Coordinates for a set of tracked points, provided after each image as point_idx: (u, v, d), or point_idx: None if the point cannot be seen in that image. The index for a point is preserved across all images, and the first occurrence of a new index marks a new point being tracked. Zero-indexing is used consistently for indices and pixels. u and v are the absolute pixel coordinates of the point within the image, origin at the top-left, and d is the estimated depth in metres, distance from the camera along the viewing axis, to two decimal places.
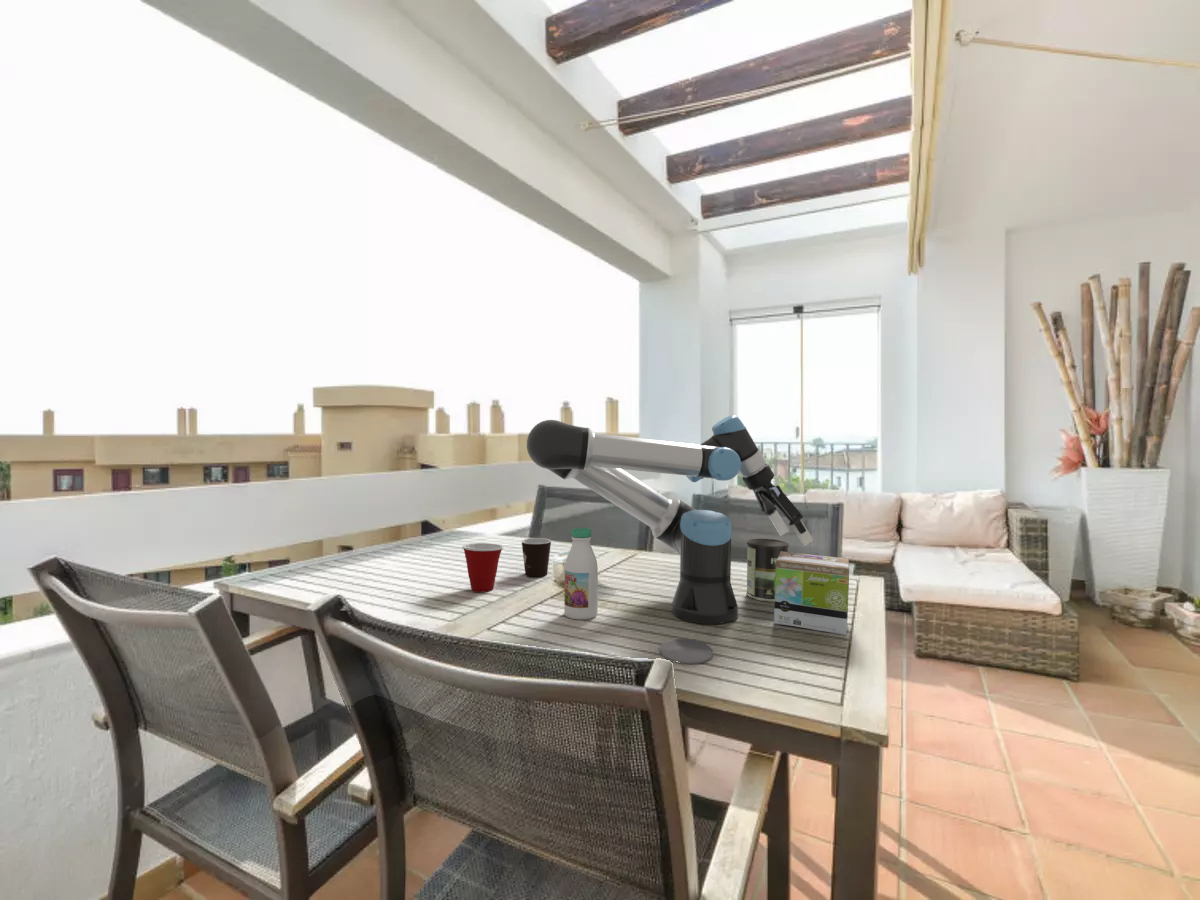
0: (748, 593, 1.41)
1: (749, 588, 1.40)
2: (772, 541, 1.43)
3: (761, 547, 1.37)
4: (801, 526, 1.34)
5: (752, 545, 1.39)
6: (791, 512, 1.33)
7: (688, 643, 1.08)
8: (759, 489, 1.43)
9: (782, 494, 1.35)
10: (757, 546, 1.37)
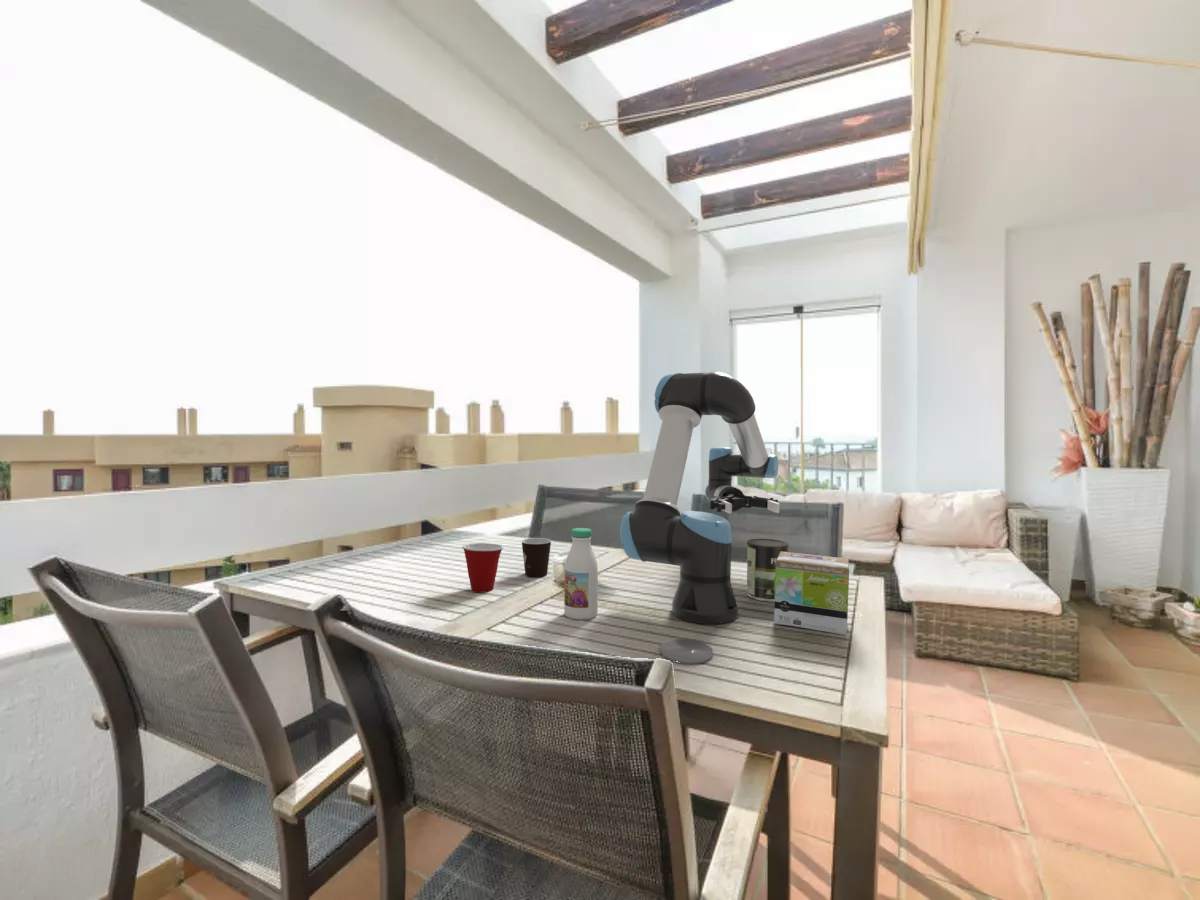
0: (748, 593, 1.41)
1: (749, 588, 1.40)
2: (772, 541, 1.43)
3: (761, 547, 1.37)
4: None
5: (752, 545, 1.39)
6: None
7: (688, 643, 1.08)
8: None
9: None
10: (757, 546, 1.37)
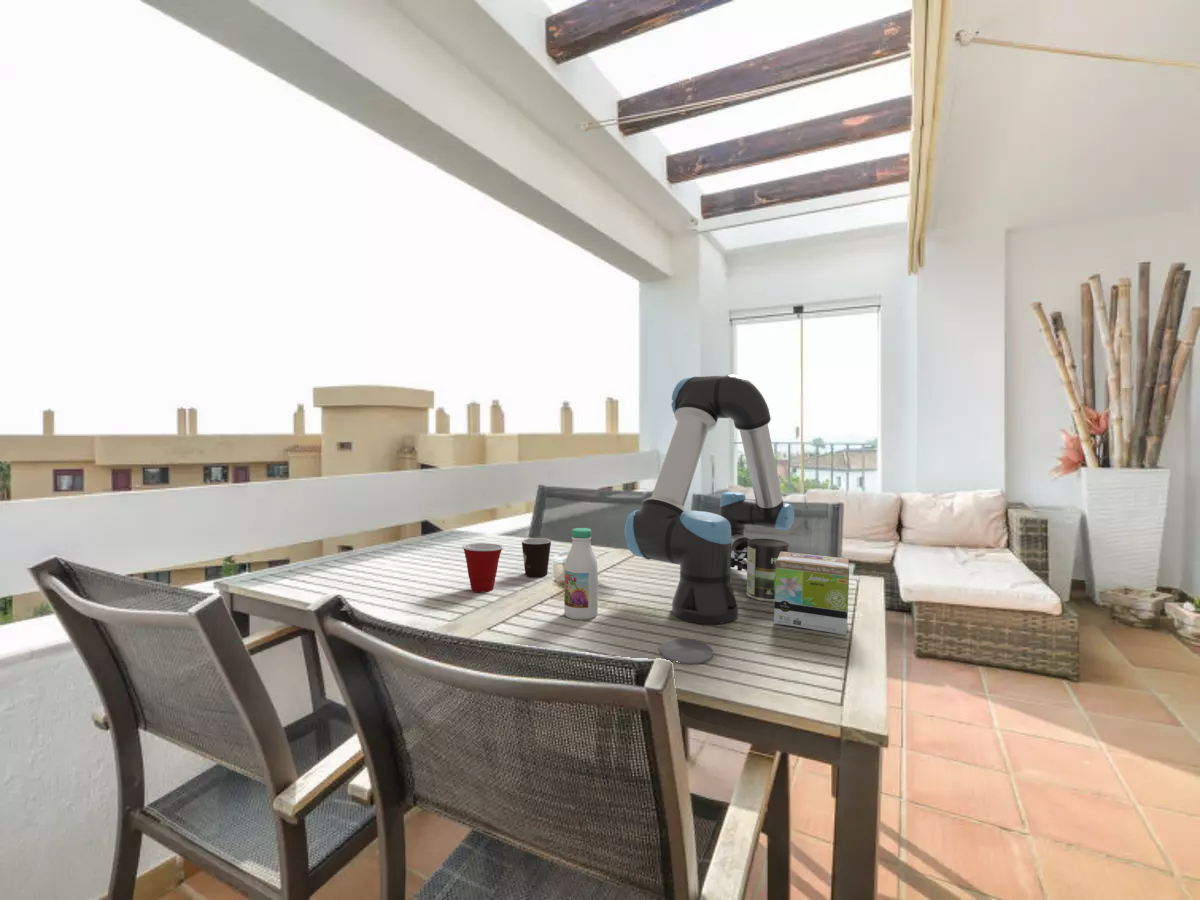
0: (748, 593, 1.41)
1: (749, 588, 1.40)
2: (772, 541, 1.43)
3: (761, 547, 1.37)
4: None
5: (752, 545, 1.39)
6: None
7: (688, 643, 1.08)
8: (744, 550, 1.54)
9: None
10: (757, 546, 1.37)
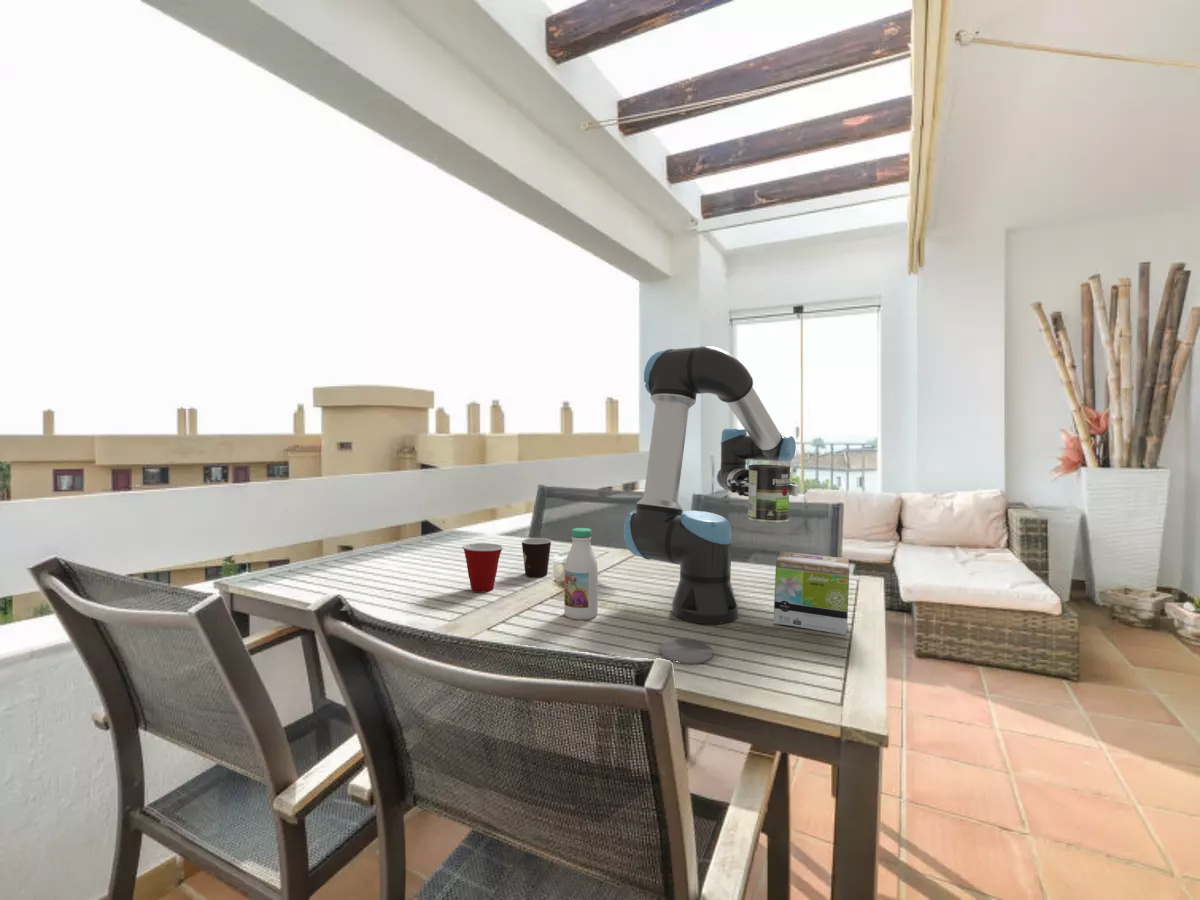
0: (749, 517, 1.40)
1: (750, 511, 1.39)
2: None
3: (763, 468, 1.36)
4: None
5: (754, 467, 1.38)
6: None
7: (688, 643, 1.08)
8: None
9: None
10: (759, 467, 1.37)
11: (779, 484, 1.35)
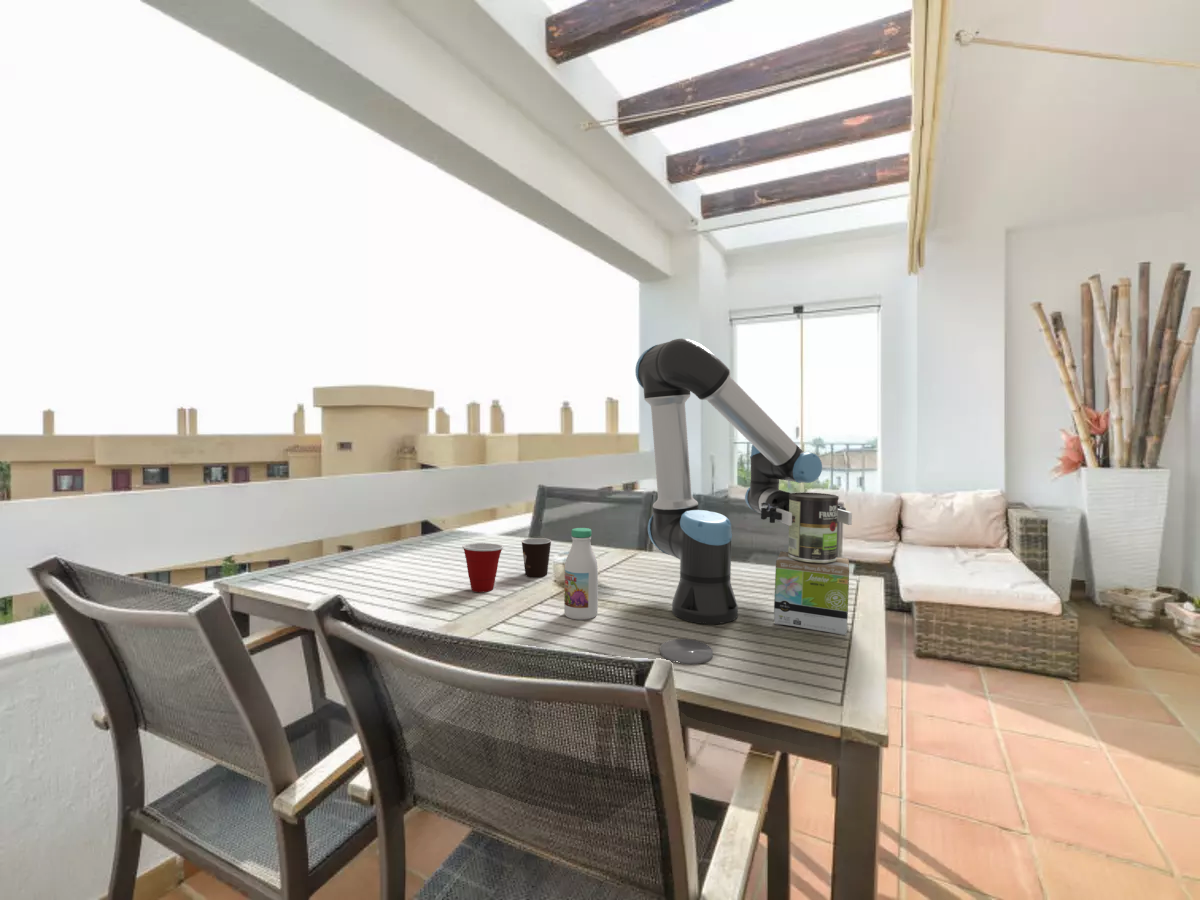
0: (791, 554, 1.20)
1: (792, 548, 1.20)
2: (818, 494, 1.23)
3: (807, 499, 1.16)
4: None
5: (796, 497, 1.18)
6: None
7: (688, 643, 1.08)
8: None
9: None
10: (802, 498, 1.17)
11: (827, 518, 1.16)
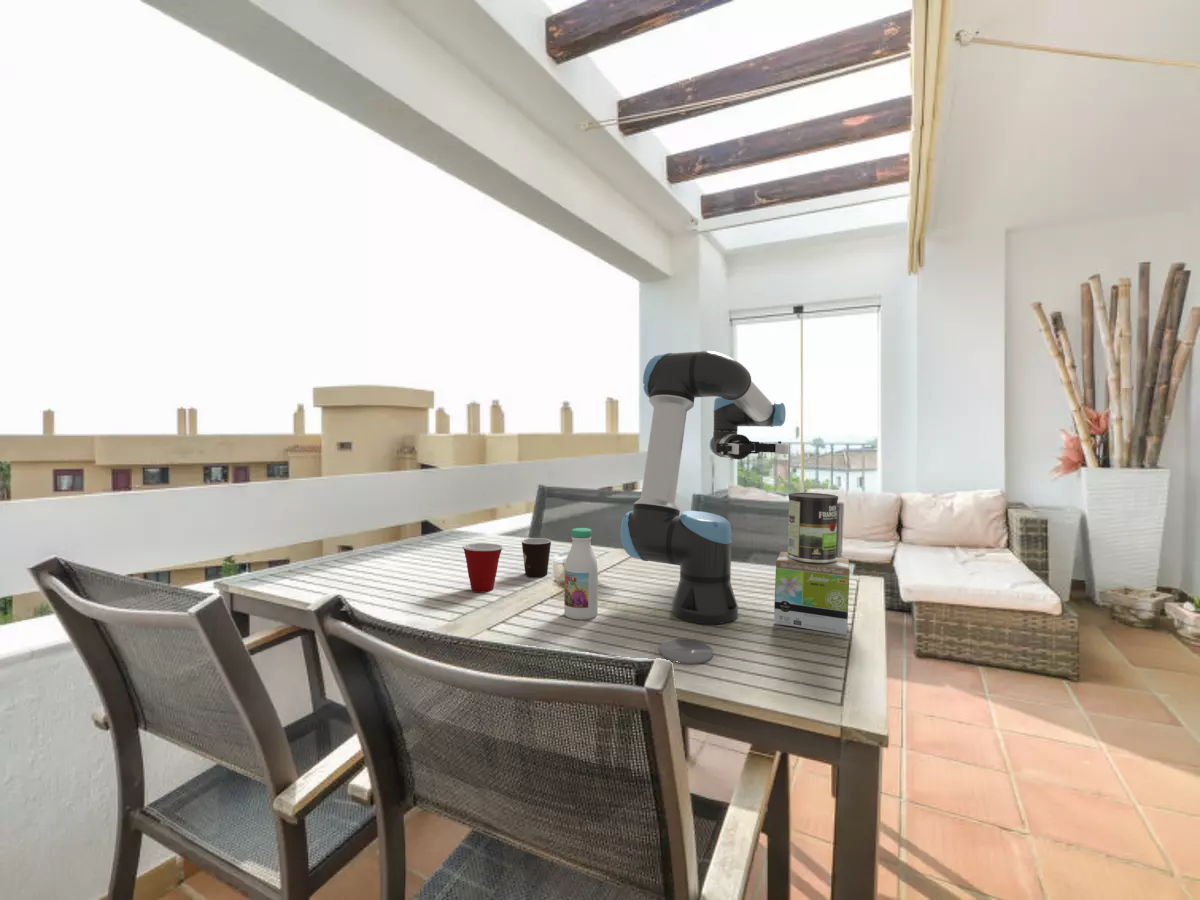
0: (790, 554, 1.21)
1: (792, 548, 1.20)
2: None
3: (807, 499, 1.17)
4: None
5: (796, 497, 1.19)
6: None
7: (688, 643, 1.08)
8: None
9: None
10: (802, 498, 1.17)
11: (826, 518, 1.16)
